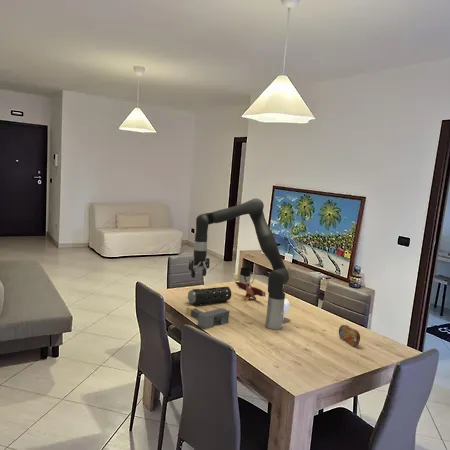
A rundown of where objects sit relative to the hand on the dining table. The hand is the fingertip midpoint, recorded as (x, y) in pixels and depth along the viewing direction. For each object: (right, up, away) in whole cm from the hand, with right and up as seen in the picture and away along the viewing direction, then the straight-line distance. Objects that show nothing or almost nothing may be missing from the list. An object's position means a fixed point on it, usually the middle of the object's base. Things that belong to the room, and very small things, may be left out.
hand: (198, 276), depth 238 cm
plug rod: (0, -24, -1) cm, 24 cm away
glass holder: (+31, -18, +69) cm, 78 cm away
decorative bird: (+31, -22, +41) cm, 56 cm away
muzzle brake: (+5, -21, +27) cm, 35 cm away
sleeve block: (+9, -25, -10) cm, 29 cm away
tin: (+81, -33, -19) cm, 90 cm away
